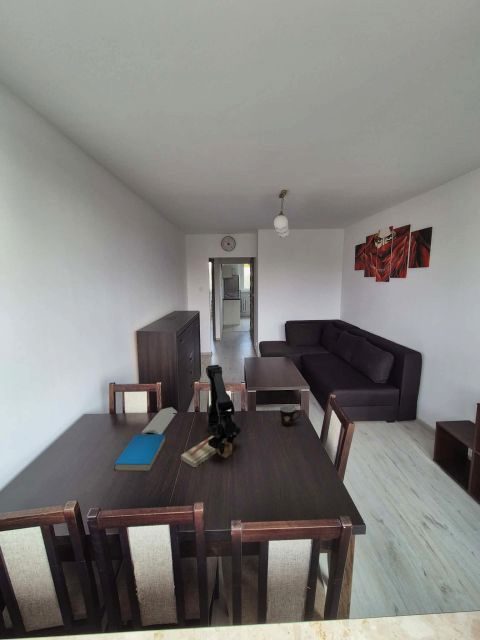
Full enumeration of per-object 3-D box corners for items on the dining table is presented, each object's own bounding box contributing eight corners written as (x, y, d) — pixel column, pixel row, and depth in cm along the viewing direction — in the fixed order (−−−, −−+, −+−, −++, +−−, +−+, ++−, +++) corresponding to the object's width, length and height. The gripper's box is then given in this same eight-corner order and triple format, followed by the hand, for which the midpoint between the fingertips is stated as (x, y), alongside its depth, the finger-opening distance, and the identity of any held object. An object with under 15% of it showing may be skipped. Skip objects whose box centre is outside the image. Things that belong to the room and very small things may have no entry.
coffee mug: (277, 425, 169) (277, 409, 167) (283, 419, 176) (283, 404, 174) (295, 430, 162) (295, 414, 161) (300, 424, 169) (301, 409, 168)
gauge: (224, 449, 145) (224, 439, 144) (232, 453, 142) (232, 442, 141) (218, 454, 141) (218, 443, 140) (225, 458, 138) (225, 447, 137)
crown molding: (160, 411, 189) (159, 406, 188) (177, 412, 188) (177, 407, 187) (140, 435, 160) (140, 429, 160) (161, 436, 159) (160, 430, 159)
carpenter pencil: (207, 440, 149) (207, 439, 148) (209, 441, 148) (209, 440, 148) (190, 454, 137) (190, 453, 137) (191, 455, 136) (191, 454, 136)
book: (165, 434, 153) (150, 463, 129) (165, 441, 154) (150, 471, 129) (134, 434, 154) (113, 463, 129) (134, 441, 154) (114, 471, 129)
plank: (212, 439, 154) (212, 435, 153) (225, 446, 148) (225, 441, 147) (181, 459, 137) (180, 455, 136) (194, 467, 131) (194, 463, 130)
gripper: (225, 411, 151) (225, 438, 153) (199, 425, 137) (200, 454, 139) (241, 417, 144) (241, 445, 146) (216, 433, 130) (217, 463, 132)
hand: (225, 451), depth 141 cm, fingers closed on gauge, 5 cm apart
